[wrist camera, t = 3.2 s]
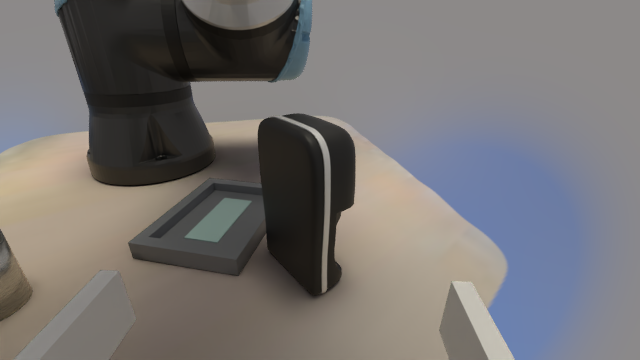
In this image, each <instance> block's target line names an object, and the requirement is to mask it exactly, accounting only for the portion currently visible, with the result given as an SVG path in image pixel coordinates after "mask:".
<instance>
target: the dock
mask: <svg viewBox="0 0 640 360" xmlns="http://www.w3.org/2000/svg"><path fill="white" fill-rule="evenodd" d="M265 233H266V222H265V212H264V204H263V194H262V185H261V183H253V182H243V181H234V180H224V179H215V178H209V179H208V180H207V181H205V182H204V183H203V184H202V185H200V186H199V187H198V188H197V189H195V190H194V191H193V192H191V193H190V194H189V195H188V196H186V197H185V198H184V199H183V200H181V201H180V202H179V203H178V204H176V205H175V206H174V207H173V208H171V209H170V210H169V211H167V212H166V213H165V214H164V215H162V216H161V217H160V218H159V219H157V220H156V221H155V222H154V223H152V224H151V225H150V226H149V227H147V228H146V229H145V230H144V231H142V232H141V233H140V234H138V235H137V236H136V237H135V238H133V239H132V240H131V241H130V242H128V244H129V247H130V250H131V253H132V257H133V258H135V259H141V260H147V261H153V262H159V263H165V264H171V265H177V266H183V267H189V268H195V269H201V270H207V271H213V272H219V273H225V274H231V275H237V276H239V274H240V272H241V271H242V269H243V268H244V266H245V265H246V263H247V262H248V260H249V258H250V257H251V255H252V254H253V252H254V251H255V249H256V247H257V246H258V244H259V243H260V241H261V240H262V238H263V236H264V235H265Z"/></svg>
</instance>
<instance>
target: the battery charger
mask: <svg viewBox="0 0 640 360" xmlns="http://www.w3.org/2000/svg"><path fill="white" fill-rule="evenodd" d="M258 149H259V163H260V175H261V185H262V194H263V204H264V212H265V222H266V235H267V248H268V250H269V251H270V252H271V253H272V254H273V255H274V257H275V258H276V259H277V260H278V261H279V262H280V263H281V264H282V265H283V266H284V267H285V268H286V269H287V270H288V271H289V272H290V273H291V274H292V275H293V276H294V277H295V279H296V280H297V281H298V282H299V283H300V284H301V285H302V286H303V287H304V288H305V289H306V290H307V291H308V292H309V293H311V294H312V295H317V294H319V293H321V294H322V293H324V292H325V291H327V289H328V288H330V287H331V286H333V285H334V284H335V283H336V282H337V281H338V280H339V279H340V277H341V267H340V265H339V264H338V263H337V262H336V261H335V259H334V247H335V235H336V225H337V223H338V220H339V218H340V216H341V212H342V211H344V210H346V209H348V208H350V207H351V206H352V205H353V204H354V193H355V147H354V143H353V140H352V138H351V136H350V135H349V133H348V132H347V131H346V130H345V129H343V128H341V127H339V126H337V125H335V124H332V123H330V122H327V121H324V120H322V119H319V118H316V117H312V116H309V115H305V114H290V115H283V116H280V115H275V116H270V117H269V118H267V119H264V120H263V121H262V122H261V123H260V125H259V129H258Z"/></svg>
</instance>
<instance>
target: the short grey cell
mask: <svg viewBox="0 0 640 360" xmlns="http://www.w3.org/2000/svg"><path fill="white" fill-rule="evenodd" d="M31 295H32V288H31V286H30V284H29V282H28V280H27V278H26V277H25V275H24V273H23V271H22V269H21V267H20V265H19V263H18V261H17V260H16V258H15V256H14V254H13V252H12V250H11V248H10V246H9V244H8V243H7V241H6V239H5V237H4V235H3V233H2V231H1V229H0V321H1V320H3V319H5V318H7V317H9V316H10V315H12V314H13V313H15V312H16V311H18V310H19V309H20V308H21V307H22V306H23V305H25V303H26V302H27V301H28V300H29V299H30V297H31Z"/></svg>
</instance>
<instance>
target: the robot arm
mask: <svg viewBox="0 0 640 360" xmlns="http://www.w3.org/2000/svg"><path fill="white" fill-rule="evenodd" d="M54 2H55V12H56V14H57V16H58V17H59V19H60V22H61V25H62V28H63V31H64V34H65V37H66V40H67V43H68V46H69V49H70V52H71V55H72V58H73V61H74V64H75V67H76V71H77V74H78V77H79V80H80V83H81V86H82V89H83V92H84V95H85V98H86V101H87V105H88V108H89V150H88V152H87V161H88V164H89V167H90V170H91V173H92V176H93V177H94V178H95V179H97V180H99V181H101V182H104V183H109V184H116V185H140V184H150V183H157V182H163V181H168V180H172V179H176V178H180V177H183V176H186V175H189V174H192V173H194V172H196V171H199V170H201V169H203V168H204V167H206V166H207V165H209V164H210V163H211V162H212V161H213V160H214V158H215V149H214V142H213V139H212V137H211V135H210V134H209V132H208V130H207V128H206V126H205V123H204V121H203V119H202V117H201V116H200V114H199V112H198V110H197V108H196V106H195V104H194V101H193V97H192V91H191V86H190V82H196V81H197V82H200V81H268V82H277V81H280V80H292V79H295V78H297V77H299V76H300V75H301V73H302V72H303V70H304V67H305V65H306V61H307V56H308V51H309V44H310V38H309V35H310V31H311V24H312V0H54ZM135 321H136V317H135V314H134V311H133V308H132V305H131V303H130V300H129V297H128V294H127V291H126V289H125V286H124V283H123V280H122V277H121V275H120V272H119V271H114V270H100V271H99V272H98V273H97V274H96V275H95V276H94V277H93V278H92V279H91V280H90V281H89V282H88V283H87V284H86V285H85V286H84V287H83V288H82V289H81V290H80V291H79V293H78V294H77V295H76V296H75V297H74V298H73V299H72V300H71V301H70V302H69V303H68V304H67V305H66V306H65V307H64V308H63V309H62V310H61V311H60V312H59V313H58V314H57V315H56V316H55V317H54V318H53V319H52V320H51V321H50V322H49V323H48V324H47V325H46V326H45V327H44V328H43V329H42V330H41V331H40V332H39V333H38V334H37V336H36V337H35V338H34V339H33V340H32V341H31V342H30V343H29V344H28V345H27V346H26V347H25V348H24V349H23V350H22V351H21V352H20V353H19V354H18V355H17V356H16V357H15V358H14V359H13V360H109V359H110V357H111V356H112V354H113V353H114V351H115V350H116V349H117V347H118V346H119V344H120V343H121V341H122V340H123V338H124V337H125V335H126V334H127V332H128V331H129V330H130V328H131V327H132V325H133V324H134V322H135ZM439 331H440V334H441V337H442V340H443V343H444V345H445V348H446V351H447V354H448V357H449V360H515V359H514V358H513V356H512V354H511V352H510V350H509V348H508V347H507V345H506V343H505V341H504V340H503V338H502V336H501V334H500V332H499V330H498V329H497V327H496V325H495V323H494V321H493V320H492V318H491V316H490V314H489V312H488V311H487V309H486V307H485V305H484V303H483V301H482V300H481V298H480V296H479V294H478V292H477V291H476V289H475V287H474V285H473V283H472V282H460V281H451V285H450V289H449V293H448V297H447V301H446V305H445V309H444V313H443V317H442V321H441V325H440V329H439Z"/></svg>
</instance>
